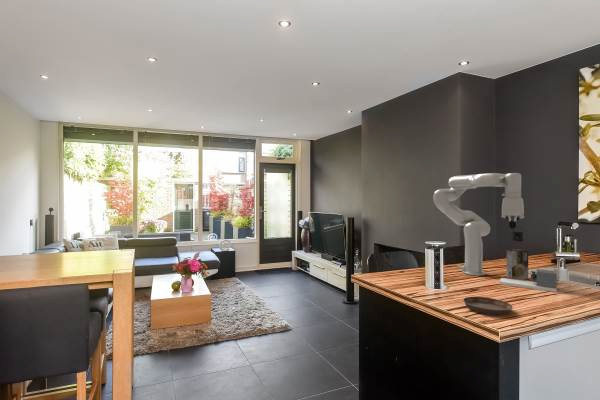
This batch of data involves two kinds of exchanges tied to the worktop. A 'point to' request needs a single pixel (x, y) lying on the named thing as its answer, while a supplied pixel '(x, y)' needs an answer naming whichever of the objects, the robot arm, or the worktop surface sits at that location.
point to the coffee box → (517, 264)
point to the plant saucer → (487, 305)
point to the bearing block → (546, 278)
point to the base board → (524, 284)
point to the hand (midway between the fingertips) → (512, 228)
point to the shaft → (534, 276)
